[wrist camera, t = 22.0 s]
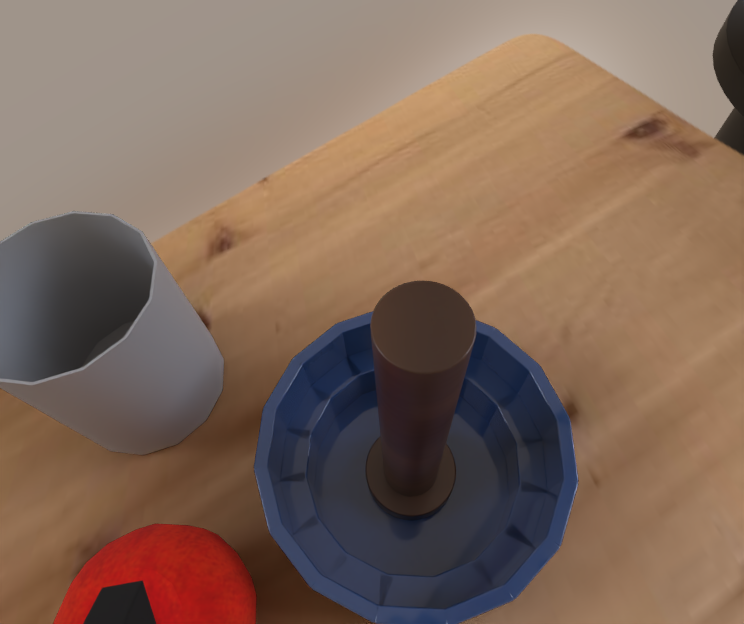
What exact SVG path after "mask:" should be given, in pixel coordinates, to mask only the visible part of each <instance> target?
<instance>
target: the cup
mask: <svg viewBox="0 0 744 624" xmlns="http://www.w3.org/2000/svg"><path fill="white" fill-rule="evenodd" d="M223 371H224V359H223V357H222V355H221V353H220V351H219V349H218V347H217V345H216V343H215V341H214V339H213V337H212V335H211V334H210V332H209V331H208V329H207V328H206V326H205V325H204V323H203V322H202V320H201V319H200V317H199V316H198V314H197V313H196V311H195V310H194V308H193V307H192V305H191V304H190V302H189V301H188V299H187V298H186V296H185V295H184V293H183V292H182V290H181V289H180V287H179V286H178V284H177V283H176V281H175V280H174V278H173V277H172V275H171V274H170V272H169V271H168V269H167V268H166V266H165V265H164V263H163V262H162V260H161V259H160V257H159V255H158V254H157V252H156V251H155V249H154V248H153V246H152V245H151V243H150V242H149V240H148V239H147V237H146V236H145V234H144V233H143V232H142V231H141V230H139V229H137V228H136V227H134V226H132V225H131V224H129V223H127V222H125V221H124V220H122V219H120V218H119V217H117V216H115V215H113V214H103V213H92V212H78V211H72V212H68V213H65V214H61V215H57V216H53V217H50V218H46V219H42V220H38V221H35V222H31V223H29V224H28V225H26V226H24V227H23V228H21V229H20V230H18V231H16V232H15V233H13V234H11V235H10V236H8V237H7V238H5V239H3V240H2V241H0V388H1V389H3V390H5V391H6V392H8V393H10V394H11V395H13V396H15V397H17V398H18V399H20V400H22V401H24V402H25V403H27V404H29V405H31V406H32V407H34V408H36V409H38V410H39V411H41V412H43V413H45V414H46V415H48V416H50V417H52V418H53V419H55V420H57V421H59V422H60V423H62V424H64V425H66V426H67V427H69V428H71V429H73V430H74V431H76V432H78V433H80V434H81V435H83V436H85V437H87V438H88V439H90V440H92V441H94V442H95V443H97V444H99V445H100V446H102V447H104V448H106V449H107V450H109V451H114V452H122V453H130V454H137V455H145V454H148V453H152V452H155V451H158V450H161V449H164V448H167V447H170V446H173V445H176V444H179V443H180V442H181V441H182V440H183V439H185V438H186V437H187V436H188V435H189V434H191V433H192V432H193V431H194V430H195V429H197V428H198V427H199V426H200V425H201V424H203V423H204V422H205V421H206V420H207V418H208V416H209V414H210V413H211V411H212V409H213V407H214V405H215V403H216V401H217V400H218V398H219V396H220V394H221V392H222V390H223Z"/></svg>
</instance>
